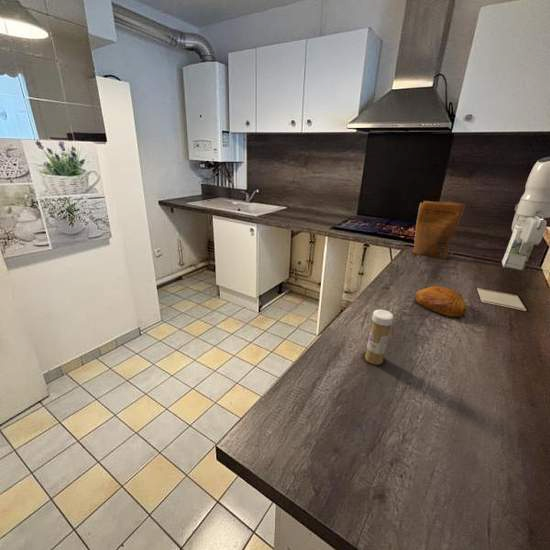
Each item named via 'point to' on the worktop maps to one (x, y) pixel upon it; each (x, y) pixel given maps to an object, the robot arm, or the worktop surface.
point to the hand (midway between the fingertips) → (518, 250)
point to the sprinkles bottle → (378, 336)
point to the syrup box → (516, 251)
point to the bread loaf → (442, 300)
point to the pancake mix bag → (436, 227)
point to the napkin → (500, 299)
